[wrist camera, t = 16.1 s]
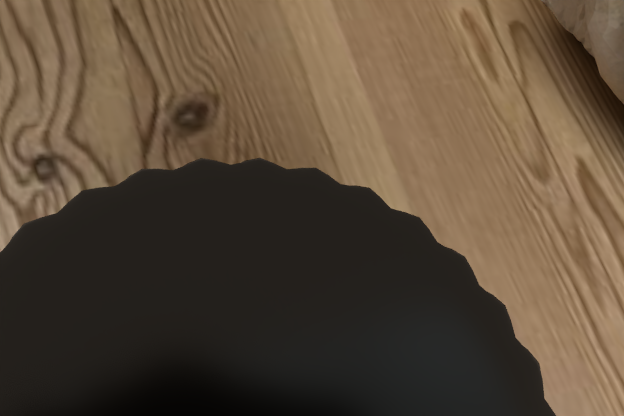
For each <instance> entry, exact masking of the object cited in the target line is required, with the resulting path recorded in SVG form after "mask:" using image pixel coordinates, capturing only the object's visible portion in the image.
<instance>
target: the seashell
mask: <svg viewBox="0 0 624 416" xmlns="http://www.w3.org/2000/svg"><path fill="white" fill-rule="evenodd" d="M541 1H542V2H543V3H544V4H545V5H546V6H547V7H548V8H549V9H550V10H551V11H552V12H553V14H554V15H555V17H556V18H557V20H558V21H559V23H560V24H561V25H562V26H563V27H564V28H565V29H566V30H567V31H569V32H571V33H572V34H573V35H574V36H575V37H576V39H577V40H578V41H580V42H582V44H583V46H584V48H585V49H586V50H587V51H588V53H589V54H590V55H592V56H593V57H595V60H596V63H597V66H598V69H599V73H600V76H601V77H602V78H603V80H604V81H605V82H606V83H607V85H608V86H609V87H610V89H611V90H612V91H613V92H614V94H615V95H616V96H617V98H618V99H619V100H620V101H621V102H622V103H623V104H624V0H541Z"/></svg>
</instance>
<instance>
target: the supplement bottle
mask: <svg viewBox="0 0 624 416" xmlns="http://www.w3.org/2000/svg"><path fill="white" fill-rule="evenodd" d="M0 416H556V415H555V413H554V412H553V411H552V409H551V408H550V406H549V405H548V403H547V402H546V400H545V399H544V391H543V381H542V376H541V371H540V366H539V363H538V361H537V360H536V359H535V358H534V357H533V355H532V354H531V353H530V352H529V351H528V350H527V349H526V348H525V347H524V346H522V345H521V344H520V342H519V341H518V340H517V339H516V338H515V334H514V330H513V327H512V323H511V320H510V317H509V314H508V312H507V309H506V307H505V305H504V304H503V303H502V302H501V301H499V300H498V299H497V298H496V297H495V296H494V295H492V294H490V293H488V292H486V291H485V290H484V289H483V288H482V287H481V286H479V284H478V282H477V279H476V277H475V275H474V273H473V270H472V269H471V267H470V265H469V263H468V262H467V260H466V258H465V257H464V256H463V255H461V254H459V253H457V252H456V251H454V250H452V249H450V248H447V247H444V246H443V245H441V244H439V243H438V242H437V241H436V239H435V238H434V236H433V235H432V233H431V232H430V230H429V229H428V228H427V226H426V225H425V224H424V223H423V221H422V220H421V219H420V218H419V217H416V216H414V215H411V214H408V213H405V212H402V211H398V210H394V209H391V208H390V207H389V206H388V205H387V204H386V203H385V202H384V201H383V200H382V199H381V198H380V197H379V196H378V195H377V194H376V193H375V192H374V191H373V190H371V189H370V188H367V187H361V186H348V185H342V184H339V183H338V182H337V181H335V180H334V179H333V178H331V177H330V176H329V175H327V174H325V173H324V172H322V171H320V170H319V169H317V168H298V169H288V170H287V169H284V168H282V167H280V166H278V165H276V164H274V163H272V162H269V161H267V160H264V159H261V158H257V159H252V160H247V161H244V162H242V163H238V164H233V165H229V164H226V163H222V162H218V161H214V160H209V159H203V158H201V159H198V160H195V161H193V162H190V163H188V164H186V165H185V166H183V167H181V168H178V169H175V170H164V169H141V170H139V171H138V172H136V173H134V174H133V175H131V176H129V177H128V178H127V179H126V180H125V181H123V182H121V183H120V184H118V185H116V186H113V187H102V188H94V189H89V190H83V191H81V192H80V193H79V194H78V195H77V196H75V197H74V198H73V199H72V200H71V201H69V202H68V203H67V204H66V205H65V206H64V207H63V208H62V209H61V210H60V211H59V212H58V213H56V214H53V215H49V216H45V217H42V218H39V219H36V220H33V221H30V222H28V223H25V224H23V226H22V227H21V228H20V229H19V230H18V231H17V232H16V234H15V235H14V236H13V237H12V239H11V241H10V242H9V244H8V245H7V246H6V247H5V248H4V249H3V251H2V252H0Z"/></svg>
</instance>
